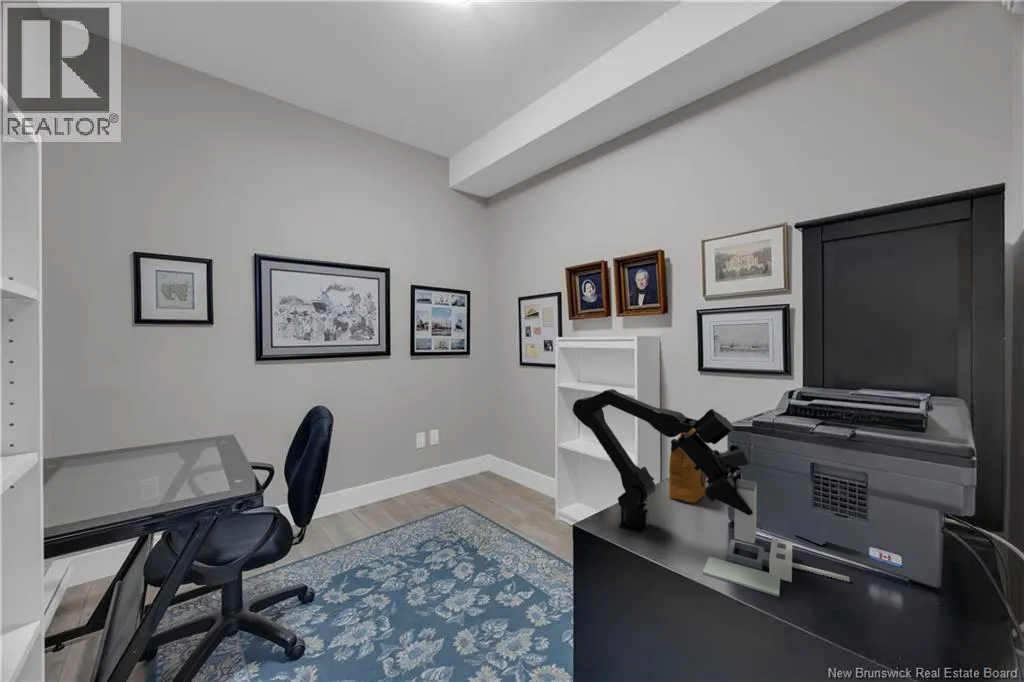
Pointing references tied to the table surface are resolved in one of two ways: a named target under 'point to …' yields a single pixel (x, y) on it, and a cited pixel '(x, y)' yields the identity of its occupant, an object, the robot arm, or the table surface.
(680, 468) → the coffee package
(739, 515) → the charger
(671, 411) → the robot arm
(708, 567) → the sage mat
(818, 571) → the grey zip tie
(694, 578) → the table surface
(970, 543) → the table surface
